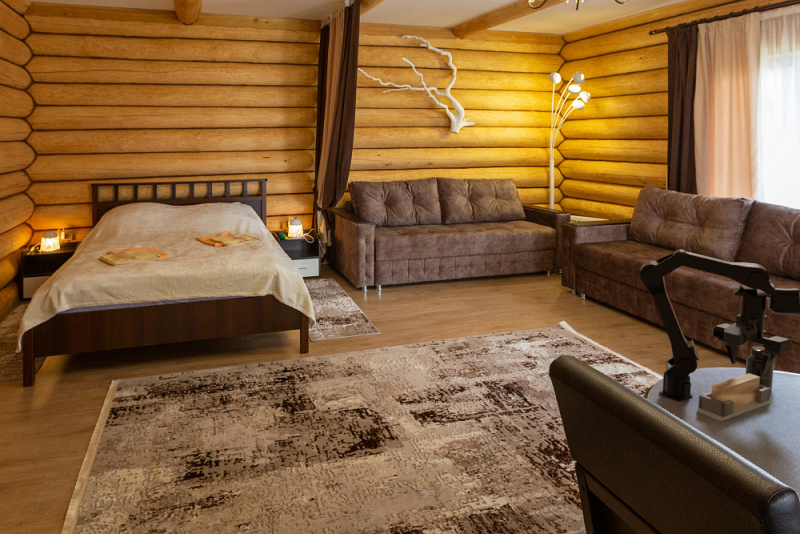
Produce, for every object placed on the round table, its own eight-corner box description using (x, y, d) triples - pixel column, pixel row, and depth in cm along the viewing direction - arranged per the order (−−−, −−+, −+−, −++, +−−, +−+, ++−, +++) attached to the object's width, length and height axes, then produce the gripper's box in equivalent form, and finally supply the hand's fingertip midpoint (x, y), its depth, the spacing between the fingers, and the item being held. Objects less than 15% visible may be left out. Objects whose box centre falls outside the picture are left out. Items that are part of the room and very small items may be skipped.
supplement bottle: (772, 386, 180) (776, 346, 178) (771, 394, 175) (775, 353, 172) (745, 382, 184) (748, 343, 182) (743, 390, 178) (746, 350, 176)
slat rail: (697, 411, 165) (698, 395, 164) (745, 394, 175) (746, 379, 174) (721, 421, 159) (722, 404, 158) (770, 403, 169) (771, 387, 168)
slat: (710, 408, 164) (711, 385, 163) (747, 395, 172) (749, 373, 170) (720, 412, 162) (722, 388, 160) (757, 399, 169) (759, 376, 168)
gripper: (700, 309, 168) (697, 364, 171) (768, 325, 152) (763, 385, 155) (727, 303, 173) (723, 356, 176) (795, 318, 157) (790, 376, 160)
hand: (748, 368), depth 167 cm, fingers open, 8 cm apart
